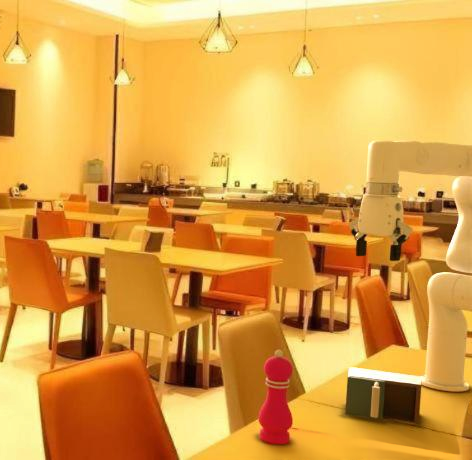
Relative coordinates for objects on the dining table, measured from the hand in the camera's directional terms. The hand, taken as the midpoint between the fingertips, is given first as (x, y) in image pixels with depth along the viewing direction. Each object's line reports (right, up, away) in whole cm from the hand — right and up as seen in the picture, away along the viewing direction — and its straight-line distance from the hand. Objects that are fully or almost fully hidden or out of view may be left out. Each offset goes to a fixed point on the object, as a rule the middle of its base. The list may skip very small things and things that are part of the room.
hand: (377, 258), depth 191 cm
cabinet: (-2, -38, -7) cm, 39 cm away
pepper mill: (-33, -39, -25) cm, 57 cm away
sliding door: (-9, -38, -12) cm, 41 cm away
